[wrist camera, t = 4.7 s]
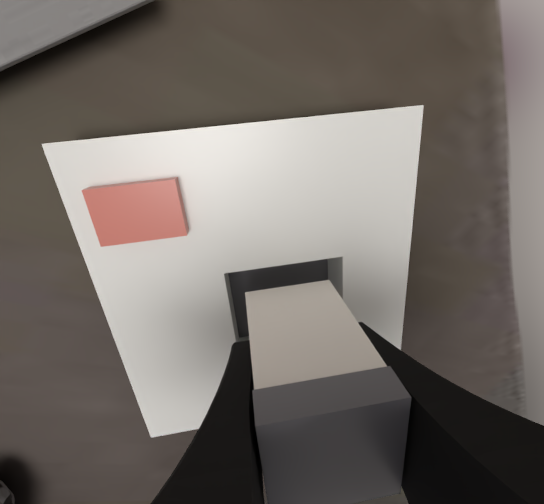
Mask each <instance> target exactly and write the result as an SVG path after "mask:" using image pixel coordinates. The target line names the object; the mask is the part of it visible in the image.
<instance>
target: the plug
mask: <svg viewBox="0 0 544 504" xmlns="http://www.w3.org/2000/svg"><path fill="white" fill-rule="evenodd" d="M245 298H246V309H247V319H248V330H249V340H250V351H251V361H252V372H253V383H254V390H252V395H253V406H254V418H255V428H256V434H257V440H258V446H259V452H260V458H261V464H262V470H263V476H264V482H265V488H266V494H267V500H268V504H353V503H358V502H363V501H367V500H372V499H377V498H381V497H386V496H391V495H395V494H400V492H401V484H402V475H403V466H404V458H405V449H406V441H407V432H408V423H409V415H410V406H411V396H410V394H409V393H408V391H407V390H406V389H405V387H404V386H403V384H402V383H401V381H400V380H399V378H398V377H397V375H396V374H395V372H394V371H393V369H392V368H391V367H390V366H387V365H386V364H385V362H384V361H383V359H382V358H381V356H380V355H379V353H378V352H377V350H376V349H375V347H374V346H373V344H372V343H371V341H370V340H369V338H368V337H367V335H366V334H365V332H364V331H363V329H362V328H361V326H360V325H359V323H358V322H357V320H356V319H355V317H354V316H353V314H352V313H351V311H350V310H349V308H348V307H347V305H346V304H345V302H344V301H343V299H342V298H341V297H340V295H339V294H338V292H337V291H336V289H335V288H334V286H333V285H332V283H331V282H330V280H324V281H318V282H311V283H304V284H297V285H291V286H284V287H277V288H270V289H264V290H257V291H250V292H245Z"/></svg>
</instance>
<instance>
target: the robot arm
mask: <svg viewBox="0 0 544 504" xmlns="http://www.w3.org/2000/svg"><path fill="white" fill-rule="evenodd" d="M358 323H359V325H360V326H361V328H362V329H363V331H364V332H365V334H366V335H367V337H368V338H369V340H370V341H371V343H372V344H373V346H374V347H375V349H376V350H377V352H378V353H379V355H380V356H381V358H382V359H383V361H384V362H385V364H386V365H387V366H390V367H391V368H392V369H393V371H394V372H395V374H396V375H397V377H398V378H399V380H400V381H401V383H402V384H403V386H404V387H405V389H406V390H407V391H408V393H409V394H410V396H411V406H410V415H409V423H408V432H407V441H406V449H405V458H404V466H403V475H402V484H401V486H402V488H403V491H404V493H405V495H406V498H407V500H408V503H409V504H544V426H543V425H540V424H538V423H535V422H532V421H530V420H528V419H526V418H523V417H521V416H519V415H516V414H514V413H512V412H510V411H507V410H505V409H503V408H501V407H499V406H497V405H495V404H492V403H490V402H488V401H486V400H484V399H482V398H480V397H478V396H476V395H474V394H472V393H470V392H468V391H466V390H465V389H463V388H461V387H459V386H457V385H455V384H454V383H452V382H450V381H448V380H446V379H445V378H443V377H441V376H440V375H438V374H436V373H435V372H433V371H431V370H430V369H428V368H427V367H425V366H423V365H422V364H420V363H419V362H417V361H416V360H414V359H413V358H411V357H410V356H408V355H407V354H405V353H404V352H402V351H401V350H400V349H398V348H397V347H395V346H394V345H393V344H391V343H390V342H388V341H387V340H386V339H384V338H383V337H382V336H380V335H379V334H378V333H376V332H375V331H374V330H372V329H371V328H370V327H368V326H367V325H366V324H364V323H363V322H358ZM252 390H254V383H253V372H252V361H251V351H250V340H246V341H240V342H234V344H233V345H232V347H231V352H230V356H229V359H228V363H227V366H226V369H225V372H224V374H223V377H222V380H221V382H220V385H219V387H218V390H217V392H216V394H215V397H214V399H213V401H212V403H211V405H210V408H209V410H208V412H207V414H206V416H205V418H204V420H203V422H202V424H201V426H200V428H199V430H198V431H197V433H196V435H195V437H194V439H193V440H192V442H191V444H190V446H189V447H188V449H187V450H186V452H185V454H184V455H183V457H182V459H181V460H180V462H179V463H178V465H177V467H176V468H175V470H174V471H173V473H172V474H171V476H170V477H169V479H168V480H167V482H166V483H165V485H164V486H163V487H162V489H161V490H160V492H159V493H158V494H157V496H156V497H155V499H154V500H153V501H152V503H151V504H264V494H263V477H262V464H261V458H260V452H259V446H258V440H257V434H256V428H255V418H254V406H253V395H252Z"/></svg>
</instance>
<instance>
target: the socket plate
mask: <svg viewBox="0 0 544 504" xmlns="http://www.w3.org/2000/svg"><path fill="white" fill-rule="evenodd" d="M423 106H424V105H420V106H410V107H400V108H390V109H380V110H371V111H361V112H351V113H341V114H331V115H321V116H312V117H302V118H292V119H282V120H272V121H262V122H253V123H243V124H233V125H223V126H213V127H203V128H194V129H184V130H174V131H164V132H154V133H144V134H135V135H125V136H115V137H105V138H95V139H86V140H76V141H66V142H56V143H46V144H42V147H43V149H44V152H45V155H46V157H47V160H48V163H49V165H50V168H51V171H52V173H53V176H54V179H55V182H56V184H57V187H58V190H59V192H60V195H61V198H62V200H63V203H64V206H65V208H66V211H67V214H68V216H69V219H70V222H71V224H72V227H73V230H74V232H75V235H76V238H77V241H78V243H79V246H80V249H81V251H82V254H83V257H84V259H85V262H86V265H87V267H88V270H89V273H90V275H91V278H92V281H93V283H94V286H95V289H96V291H97V294H98V297H99V299H100V302H101V305H102V308H103V310H104V313H105V316H106V318H107V321H108V324H109V326H110V329H111V332H112V334H113V337H114V340H115V342H116V345H117V348H118V350H119V353H120V356H121V358H122V361H123V364H124V367H125V369H126V372H127V375H128V377H129V380H130V383H131V385H132V388H133V391H134V393H135V396H136V399H137V401H138V404H139V407H140V409H141V412H142V415H143V417H144V420H145V423H146V426H147V428H148V431H149V434H150V436H151V437H157V436H162V435H168V434H173V433H179V432H184V431H189V430H195V429H199V428H200V426H201V424H202V422H203V420H204V418H205V416H206V414H207V412H208V410H209V408H210V405H211V403H212V401H213V399H214V397H215V394H216V392H217V390H218V387H219V385H220V382H221V380H222V377H223V374H224V372H225V369H226V366H227V363H228V359H229V356H230V352H231V347H232V345H233V344H234V342H240V341H246V340H249V330H248V319H247V309H246V298H245V292H250V291H257V290H264V289H270V288H277V287H284V286H291V285H297V284H304V283H311V282H318V281H324V280H330V282H331V283H332V285H333V286H334V288H335V289H336V291H337V292H338V294H339V295H340V297H341V298H342V299H343V301H344V302H345V304H346V305H347V307H348V308H349V310H350V311H351V313H352V314H353V316H354V317H355V319H356V320H357V322H363V323H364V324H366V325H367V326H368V327H370V328H371V329H372V330H374V331H375V332H376V333H378V334H379V335H380V336H382V337H383V338H384V339H386V340H387V341H388V342H390V343H391V344H393V345H394V346H395V347H397V348H398V349H400V350H401V342H402V331H403V320H404V310H405V299H406V288H407V278H408V267H409V256H410V245H411V235H412V224H413V213H414V203H415V192H416V181H417V170H418V160H419V149H420V138H421V128H422V117H423Z"/></svg>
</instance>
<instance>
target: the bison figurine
mask: <svg viewBox="0 0 544 504" xmlns="http://www.w3.org/2000/svg"><path fill="white" fill-rule="evenodd" d="M0 504H15V498H14V494H13V493H12V492H11V491H10V490H9V489H8V488H7V486H6V485H5V484H4V483H3V482H2V481H0Z"/></svg>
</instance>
